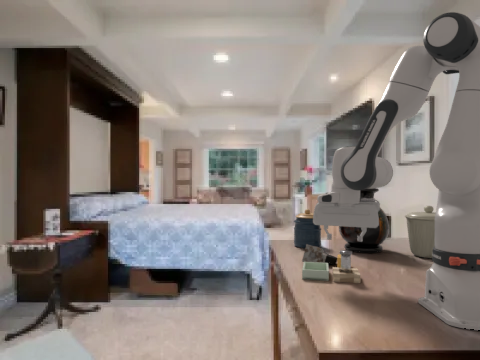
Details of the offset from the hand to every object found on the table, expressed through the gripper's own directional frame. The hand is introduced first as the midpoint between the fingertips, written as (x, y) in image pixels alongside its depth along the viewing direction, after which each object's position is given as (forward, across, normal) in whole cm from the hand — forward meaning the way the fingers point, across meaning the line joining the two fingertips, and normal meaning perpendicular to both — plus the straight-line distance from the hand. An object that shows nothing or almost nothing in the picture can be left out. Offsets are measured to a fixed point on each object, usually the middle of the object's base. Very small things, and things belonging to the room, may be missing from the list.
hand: (344, 240), depth 112 cm
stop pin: (+12, -1, 0) cm, 12 cm away
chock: (+13, -1, -15) cm, 20 cm away
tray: (+12, +9, -2) cm, 15 cm away
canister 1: (+13, +13, -54) cm, 57 cm away
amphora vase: (+13, -12, -50) cm, 52 cm away
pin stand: (+12, -1, 0) cm, 12 cm away
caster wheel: (+13, +7, -18) cm, 24 cm away
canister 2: (+12, -37, -43) cm, 58 cm away
